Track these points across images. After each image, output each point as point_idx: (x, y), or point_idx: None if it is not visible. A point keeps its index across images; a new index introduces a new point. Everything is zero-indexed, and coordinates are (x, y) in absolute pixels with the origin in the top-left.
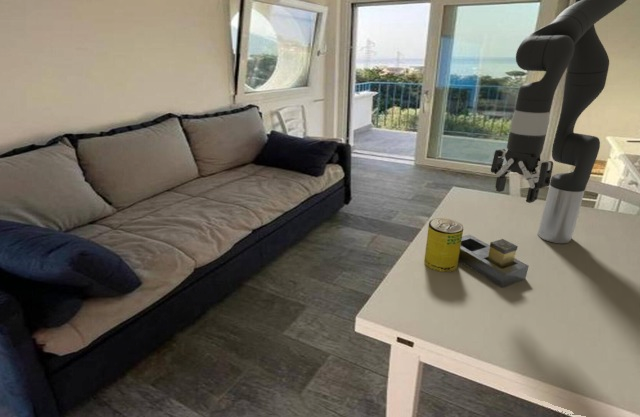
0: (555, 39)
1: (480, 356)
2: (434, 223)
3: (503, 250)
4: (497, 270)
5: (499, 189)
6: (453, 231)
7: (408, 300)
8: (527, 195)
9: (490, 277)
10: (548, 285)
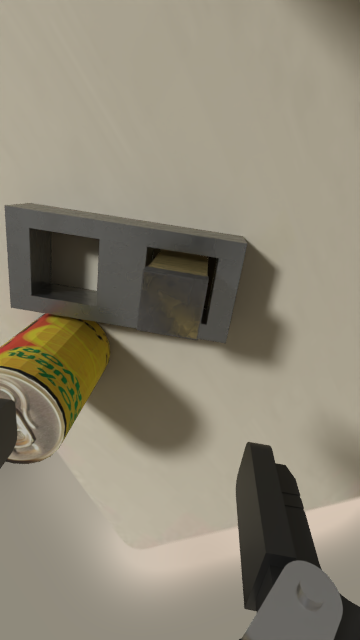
0: None
1: None
2: None
3: (191, 337)
4: (202, 338)
5: (6, 450)
6: (56, 438)
7: (140, 488)
8: (240, 532)
9: None
10: (302, 214)
